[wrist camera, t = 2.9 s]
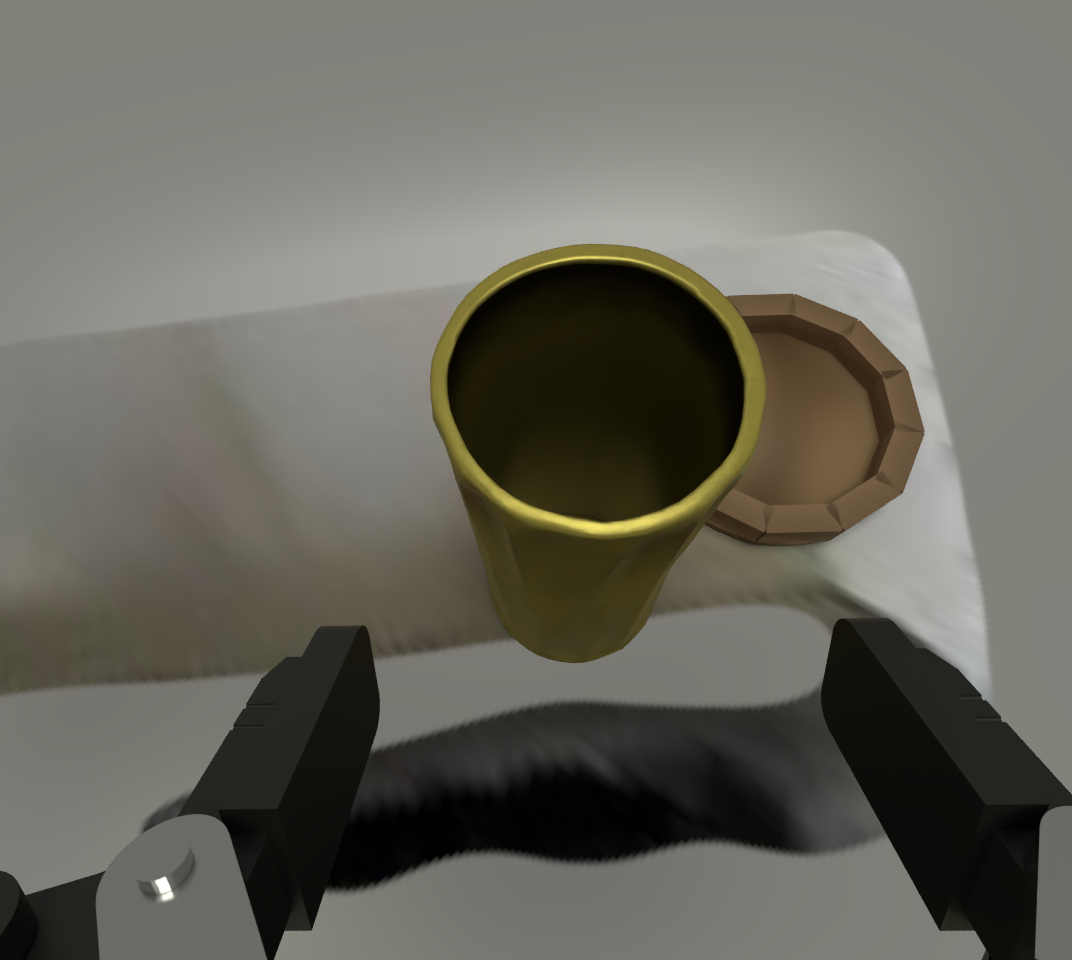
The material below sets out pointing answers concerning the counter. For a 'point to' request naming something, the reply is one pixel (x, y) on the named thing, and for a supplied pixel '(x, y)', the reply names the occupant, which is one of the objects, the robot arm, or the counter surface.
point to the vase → (592, 433)
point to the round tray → (820, 426)
